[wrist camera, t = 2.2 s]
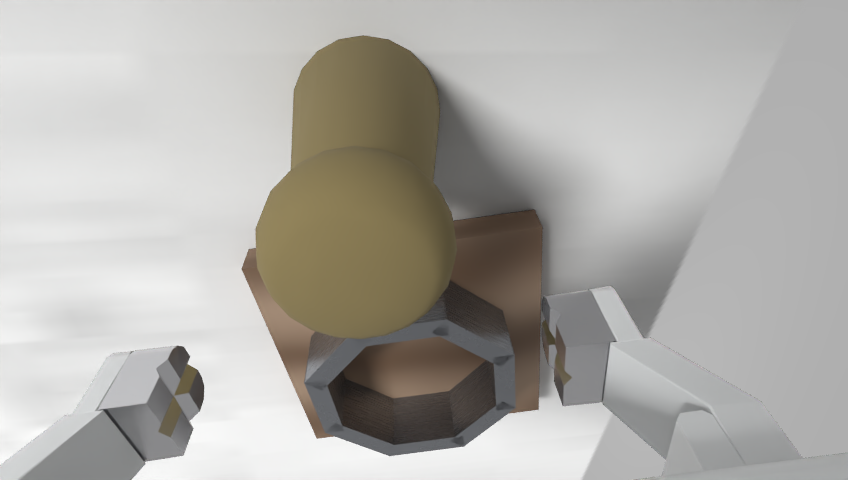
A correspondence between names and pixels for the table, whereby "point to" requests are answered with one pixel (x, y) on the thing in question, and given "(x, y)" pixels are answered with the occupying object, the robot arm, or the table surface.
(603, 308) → the robot arm
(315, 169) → the cork
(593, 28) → the table surface
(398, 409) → the metal collar
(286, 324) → the walnut base
